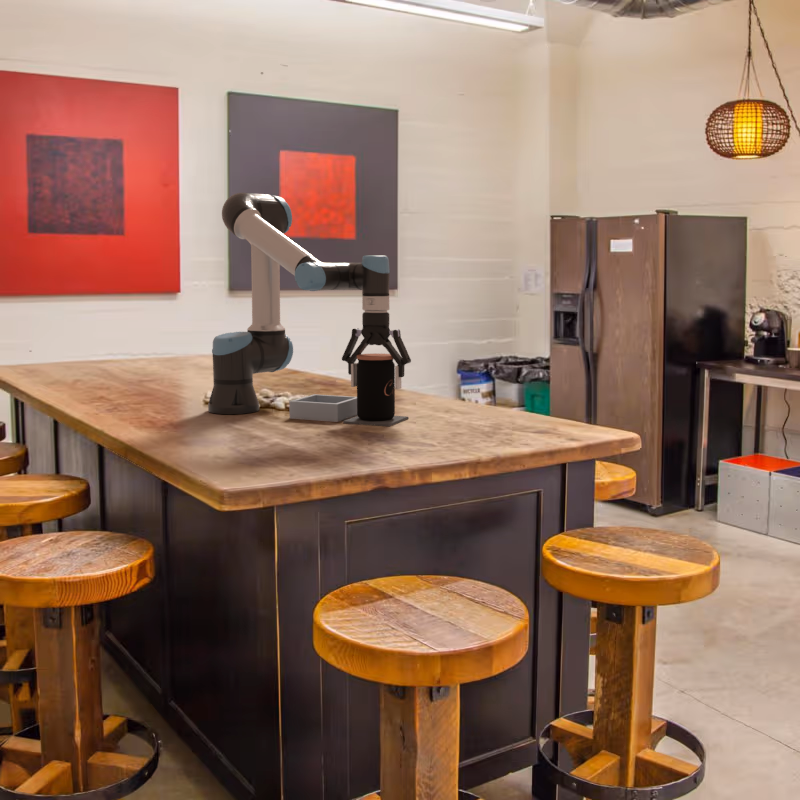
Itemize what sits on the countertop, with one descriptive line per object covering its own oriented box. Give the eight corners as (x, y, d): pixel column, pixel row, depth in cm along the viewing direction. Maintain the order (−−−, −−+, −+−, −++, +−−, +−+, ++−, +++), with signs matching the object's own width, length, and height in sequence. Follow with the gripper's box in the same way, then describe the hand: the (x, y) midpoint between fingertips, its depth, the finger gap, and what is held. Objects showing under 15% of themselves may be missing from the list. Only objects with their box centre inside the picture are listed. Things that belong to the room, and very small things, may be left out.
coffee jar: (390, 422, 253) (390, 357, 250) (352, 421, 255) (352, 356, 253) (398, 416, 263) (398, 353, 261) (362, 415, 265) (361, 353, 263)
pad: (343, 423, 256) (343, 421, 255) (364, 415, 268) (364, 413, 268) (389, 426, 250) (389, 424, 250) (408, 418, 263) (408, 416, 263)
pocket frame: (289, 418, 263) (289, 401, 263) (314, 410, 278) (314, 394, 277) (337, 421, 258) (337, 404, 257) (360, 413, 272) (360, 397, 271)
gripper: (329, 311, 256) (330, 386, 259) (412, 313, 247) (412, 391, 250) (341, 310, 263) (342, 383, 266) (422, 311, 254) (422, 388, 257)
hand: (376, 387), depth 258 cm, fingers open, 13 cm apart
